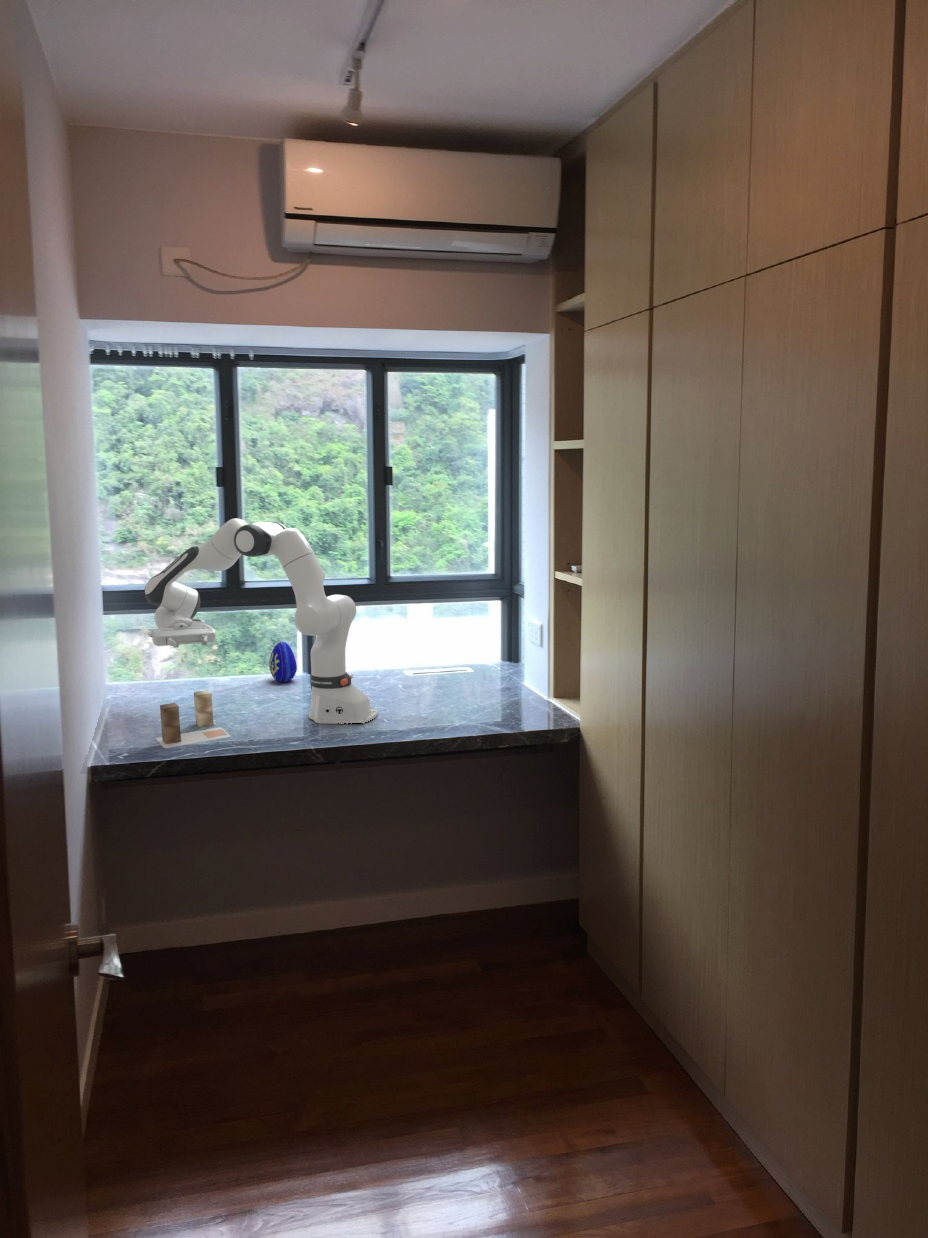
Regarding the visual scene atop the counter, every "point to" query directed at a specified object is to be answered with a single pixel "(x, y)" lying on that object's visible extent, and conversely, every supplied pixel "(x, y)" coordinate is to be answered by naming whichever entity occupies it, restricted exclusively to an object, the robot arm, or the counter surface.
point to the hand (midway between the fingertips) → (191, 644)
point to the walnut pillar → (170, 723)
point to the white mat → (197, 737)
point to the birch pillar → (203, 708)
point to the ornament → (282, 663)
